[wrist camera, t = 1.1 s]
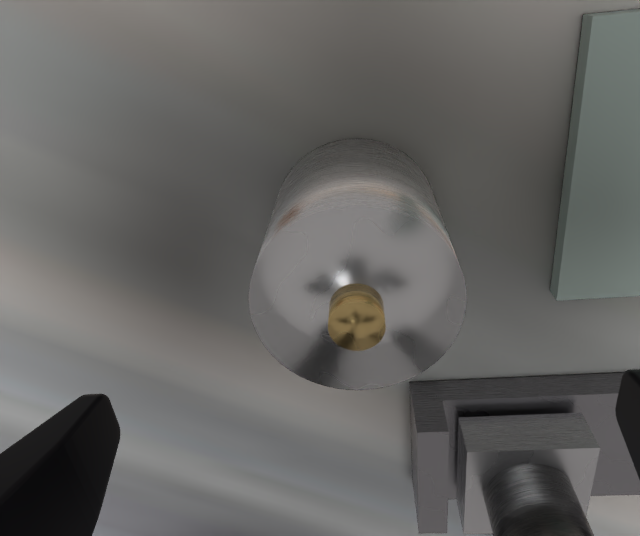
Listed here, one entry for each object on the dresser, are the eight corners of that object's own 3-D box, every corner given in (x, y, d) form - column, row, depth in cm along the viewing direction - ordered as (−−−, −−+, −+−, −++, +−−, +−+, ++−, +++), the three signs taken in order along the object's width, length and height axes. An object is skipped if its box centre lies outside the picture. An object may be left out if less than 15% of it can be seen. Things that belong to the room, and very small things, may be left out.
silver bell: (435, 280, 17) (470, 409, 12) (286, 289, 18) (260, 417, 13) (435, 131, 15) (479, 212, 10) (265, 146, 15) (222, 231, 10)
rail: (758, 468, 20) (805, 526, 18) (412, 478, 22) (418, 533, 19) (802, 364, 18) (861, 416, 16) (409, 382, 19) (416, 432, 17)
